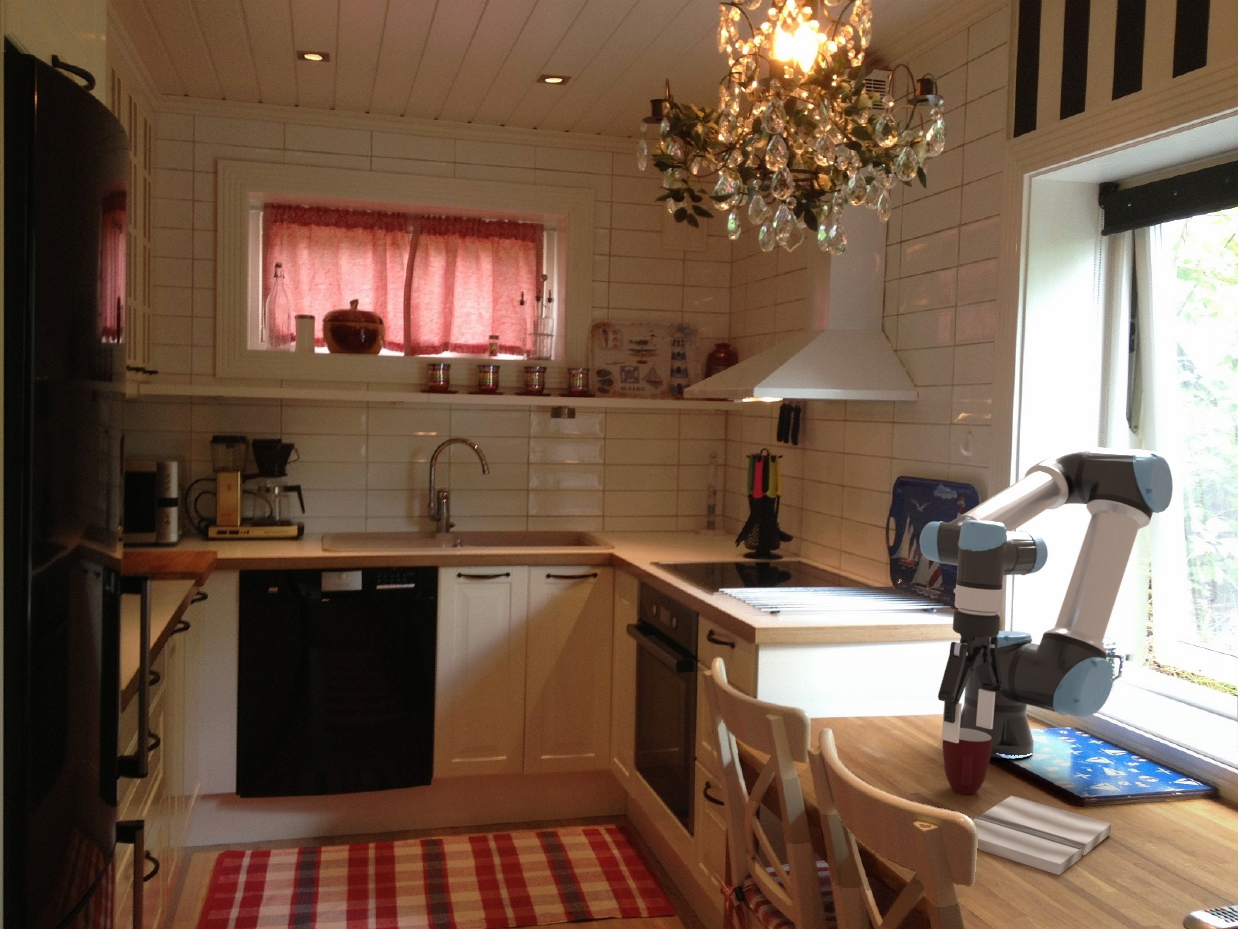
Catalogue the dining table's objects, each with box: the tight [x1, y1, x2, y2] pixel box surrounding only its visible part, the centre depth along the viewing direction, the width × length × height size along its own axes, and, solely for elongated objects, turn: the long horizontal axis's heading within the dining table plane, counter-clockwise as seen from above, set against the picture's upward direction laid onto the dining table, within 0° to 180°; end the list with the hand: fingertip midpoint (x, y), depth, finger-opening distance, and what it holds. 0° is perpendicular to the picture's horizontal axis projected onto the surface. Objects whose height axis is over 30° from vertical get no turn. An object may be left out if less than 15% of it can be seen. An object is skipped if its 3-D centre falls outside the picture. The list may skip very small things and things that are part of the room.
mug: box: [942, 728, 992, 796], centre depth 186 cm, size 11×8×10 cm
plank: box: [980, 795, 1112, 857], centre depth 171 cm, size 12×16×2 cm
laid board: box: [972, 815, 1082, 876], centre depth 162 cm, size 9×16×2 cm, turn 48°
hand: (967, 734), depth 185 cm, fingers open, 13 cm apart
